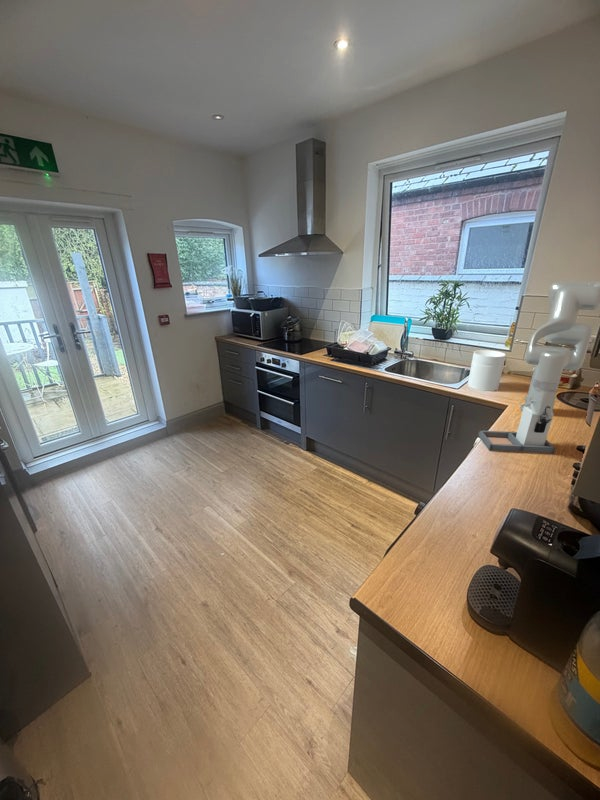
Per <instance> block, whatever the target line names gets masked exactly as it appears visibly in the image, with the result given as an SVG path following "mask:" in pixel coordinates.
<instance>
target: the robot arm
mask: <svg viewBox="0 0 600 800" xmlns="http://www.w3.org/2000/svg"><path fill="white" fill-rule="evenodd" d="M547 297H548V303H549V308H550V309H549V310H550V311H549V315H548V320H547V322H546V323H544V324H542V325H541V326H540V327H537V329H536V330H534V332H533V333H532V334H531V336H530V337H529V340H528V343H527V347H526V350H525V354H524V360H525V362H526V364H528V365H533V366H534V367H533V372H532V375H531V380H530V384H529V387H528V392H527V395H526V397H524V398H523V399H524V401H525V402H524V403H522V404H521V405H520V410H521V411H523V408H524V406H525V405H527V404H529V403H530V401H531V400H533V402H532V404H533V408H534V412H535V416H539V417H538V422H537V423H536V426H535V430H534V432H536V433H544V431H545V427H546V424H548V422H550V420H552V421H553V418H552V414H551V413H552V410H553V409H554V408H555V407H554V405H555V401H556V396H557V395H556V393H557V391H558V388H559V384H560V382H561V377H562V375H563V371H564V370H565V371H578V370H580V369H581V368H582V366H583V364H584V363H585V362H584V361H585V358H586V355H587V351H588V349H589V345H590V342H591V339H592V334H593V329H592V328H593V327H592V326H591V325H590V324H587V323H578V322H577V320H578V319H577V318H578V314H579V310H582V311H583V310H584V311H585V310H586V311H594V310H597V309H598V308H600V281H599V280H597V281H592V280H590V281H588V280H584V281H583V280H582V281H581V280H563V281H555V282H553V283H552V284H550V285H549V288H548V291H547ZM543 338H544V341H545V342H546V343H549V344H555V345H561V346H572V347H573V348H571V347H561V346H553V345H551V346H550V345H541V344H540V345H539V344H537V343H538V341H539V340H541V339H543ZM526 407H528V408H529V409H530V410H531V405H528V406H526ZM531 411H532V410H531ZM543 413H545V414H546V415H542V414H543ZM541 417H545V419H542V420H541Z"/></svg>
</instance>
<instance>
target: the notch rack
mask: <svg viewBox="0 0 600 800" xmlns="http://www.w3.org/2000/svg"><path fill="white" fill-rule="evenodd" d="M477 434H478V435H477V437H478V438H479V439H480V440H481V442H482V443H483V444H484V446H485V447H486V448H487V450H488V451H490V452H491V451H492V452H493V451H494V452H512V453H531V454H553V455H554V454H555V451H556V449H557V448H556V446H554V445H553V444H552V443H551V442H550V441H549V440H547V439H546V441H545V444H544V446H531V445H522V444H521V443H520V442H519V441H518V440H517V439H516V434H517V431H505V430H504V431H502V430H497V431H496V430H478V433H477Z"/></svg>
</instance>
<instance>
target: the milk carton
mask: <svg viewBox="0 0 600 800" xmlns="http://www.w3.org/2000/svg"><path fill="white" fill-rule="evenodd" d="M532 402H533V400H531V401H530V403H529V404H527V405H525V406H524V408H523V410H522V412H521V416H520V420H519V423H518V427H517V431H516V432H517V434H516V439H517V440H518V441H519V442H520V443H521V444H522V445H531V446H544V444H545V441H546V440H547V437H548V433H549V432H550V428H551V425H552V421H553V418H554V415H555V413H554V411H553V410H552V413H551V414H552V420H550V422H548V424H546V427H545V431H544V433H536V432H534V430H535V426H536V423H537V422H538V417H539V416H535V412H534V408H533V404H532ZM528 405H531V410H532V411H531V410H530V409H529V408H528V407H526V406H528ZM542 415H546V414H545V413H543V414H542ZM542 419H545V417H541V420H542Z"/></svg>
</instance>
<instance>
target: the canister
mask: <svg viewBox="0 0 600 800" xmlns="http://www.w3.org/2000/svg"><path fill="white" fill-rule="evenodd" d="M506 357H507V355H506V353H505V352H502V351H498V350H491V349H477V350H474V351H473V354H472V360H471V364H470V369H469V375H468V381H467V386H468V387H469V388H470V389H473V388H474V389H473V390H476V389H478V390H477V391H481V390H483V391H482V392H495V390H496V391H498V390H499V387H500V383H501V379H502V374H503V369H504V366H505V361H506Z"/></svg>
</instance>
